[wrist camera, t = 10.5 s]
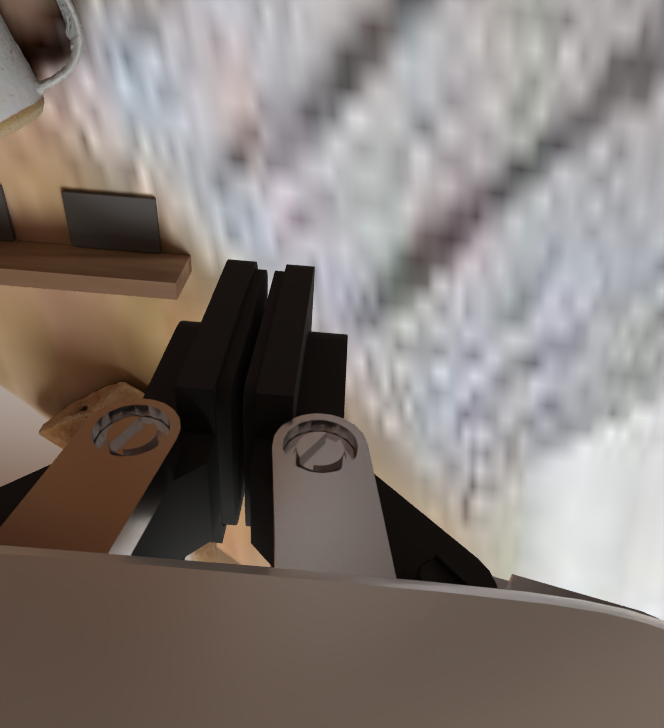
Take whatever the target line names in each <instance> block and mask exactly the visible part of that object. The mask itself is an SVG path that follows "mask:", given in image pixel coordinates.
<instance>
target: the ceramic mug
mask: <svg viewBox="0 0 664 728" xmlns="http://www.w3.org/2000/svg"><path fill="white" fill-rule="evenodd" d="M56 1H57V3H58V5H59V7H60V10H61V12H62V15H63V17H64V20H65V24H66V32H65V34H66V35H67V37H68V39H69V40H70V46H71V52H72V53H71V55H70V58H69V59H68V61H67V63H66V65H65V66H64V67H62V69H61V70H60V71H59V72H57V73H56V74H54V75H53V76H52V77H50V78H47V79H44V80H42V81H40V80H37V79H36V77H35V75H34V73H33V71H32V69H31V67H30V65H29V63H28V62H27V60H26V59H25V57H24V56H23V54H22V52H21V50H20V48H19V46H18V44H17V43H16V42H15V40H14V38H13V37H12V35H11V33H10V31H9V29H8V27H7V25H6V23H5V21H4V20H3V18H2V16H1V14H0V138H2V137H4V136H7V135H9V134H11V133H12V132H14V131H16V130H18V129H20V128H21V127H23V126H25V125H27V124H28V123H30V122H32V121H33V120H35V119H36V118H37V117H39V116H40V114H41V113H42V111H43V106H44V98H43V92H44V90H45V89H47V88H50V87H53V86H54V85H56V84H58V83H60V82H61V81H62V80H64V79H65V78H66V77H67V76H68V75H69V74H70V73H71V72H72V71H73V70H74V69H75V67H76V66H77V64H78V62H79V60H80V57H81V52H82V46H83V34H82V27H81V23H80V20H79V17H78V15H77V12H76V10H75V8H74V6H73V4H72V2H71V0H56Z"/></svg>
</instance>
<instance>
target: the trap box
mask: <svg viewBox="0 0 664 728" xmlns="http://www.w3.org/2000/svg"><path fill="white" fill-rule="evenodd" d="M62 197H63V202H64V207H65V212H66V217H67V222H68V227H69V231H70V236H71V241H72V245H63V244H51V243H40V242H28V241H16V237H15V233H14V229H13V226H12V222H11V218H10V214H9V210H8V207H7V203H6V199H5V195H4V191H3V188H2V185H0V285H9V286H21V287H33V288H45V289H57V290H69V291H80V292H92V293H104V294H116V295H128V296H139V297H151V298H163V299H175V300H177V299H178V297H179V295H180V293H181V291H182V289H183V287H184V285H185V283H186V281H187V279H188V277H189V275H190V273H191V271H192V268H191V255H181V254H169V253H161V244H160V234H159V225H158V216H157V207H156V198H150V197H138V196H126V195H115V194H103V193H91V192H79V191H68V190H63V191H62Z"/></svg>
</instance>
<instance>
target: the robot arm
mask: <svg viewBox="0 0 664 728" xmlns="http://www.w3.org/2000/svg"><path fill="white" fill-rule="evenodd" d="M314 274H315V267H312V266H300V265H288V264H287V265H286V269H285V272H284V271H275V273H274V277H273V280H272V284H271V288H270V292H269V295H268V274H267V270H260V269H258V266H257V262H253V261H241V260H229V259H228V260H227V262H226V264H225V267H224V269H223V272H222V274H221V276H220V279H219V281H218V283H217V286H216V288H215V291H214V293H213V295H212V298H211V300H210V303H209V305H208V307H207V310H206V312H205V314H204V317H203V319H202V322H192V321H180V322H179V324H178V325H177V327H176V329H175V331H174V334H173V336H172V338H171V340H170V342H169V344H168V346H167V348H166V350H165V352H164V355H163V357H162V359H161V361H160V363H159V365H158V367H157V369H156V371H155V373H154V375H153V378H152V380H151V382H150V384H149V386H148V388H147V390H146V392H145V394H144V396H143V399H141V398H137V399H128V400H122V401H119V402H116V403H112V404H109V405H107V406H105V407H104V408H102V409H100V410H98V411H96V412H95V413H94V414H93V415H92V416H91V417H90V418H89V419H88V420H87V421H86V422H85V423H84V424H83V426H82V427H81V428H80V429H79V431H78V432H77V433H76V434H75V435H74V437H73V438H72V439H71V440H70V442H69V443H68V444H67V445H66V447H65V448H64V449H63V450H62V452H61V453H60V454H59V455H58V456H57V458H56V459H55V460H54V462H53V463H52V464H51V465H49V466H46V467H44V468H42V469H40V470H38V471H35V472H33V473H31V474H28V475H26V476H24V477H22V478H20V479H17V480H15V481H13V482H11V483H9V484H6V485H4V486H2V487H0V728H664V621H663V620H660V619H658V618H656V617H654V616H651V615H649V614H647V613H645V612H642V611H639V610H635V609H632V608H628V607H625V606H621V605H618V604H614V603H611V602H607V601H604V600H600V599H597V598H593V597H590V596H587V595H583V594H580V593H576V592H573V591H569V590H566V589H562V588H559V587H555V586H552V585H548V584H545V583H541V582H538V581H534V580H531V579H527V578H524V577H520V576H517V575H513V574H512V575H511V578H510V580H509V581H507V580H504V579H500V578H497V577H493V576H492V575H491V573H490V571H489V570H488V569H487V568H486V567H485V566H484V565H483V564H482V562H481V561H480V560H479V559H478V558H477V557H475V556H474V555H473V554H472V553H470V552H469V551H468V550H467V549H465V548H464V547H463V546H462V545H461V544H459V543H458V542H457V541H456V540H454V539H453V538H452V537H451V536H450V535H448V534H447V533H446V532H445V531H443V530H442V529H441V528H440V527H439V526H437V525H436V524H435V523H434V522H432V521H431V520H430V519H429V518H428V517H426V516H425V515H424V514H423V513H421V512H420V511H419V510H418V509H417V508H415V507H414V506H413V505H412V504H410V503H409V502H408V501H407V500H406V499H404V498H403V497H402V496H401V495H399V494H398V493H397V492H396V491H395V490H393V489H392V488H391V487H390V486H388V485H387V484H386V483H385V482H384V481H382V480H381V479H380V478H379V477H377V476H376V475H375V474H374V471H373V466H372V461H371V456H370V452H369V447H368V443H367V441H366V439H365V436H364V434H363V433H362V432H361V431H360V430H359V429H358V428H357V427H356V426H355V425H354V424H352V423H351V422H349V421H347V420H345V419H344V404H345V383H346V362H347V341H348V335H346V334H334V333H322V332H311V326H312V309H313V292H314ZM244 492H245V522H246V526H251V544H252V545H253V546H254V547H255V548H256V549H257V550H258V551H259V553H260V554H261V555H262V556H263V557H264V558H265V559H266V560H267V561H268V562H269V563H270V565H271V566H270V567H261V566H249V565H237V564H224V563H213V562H201V561H195V554H194V551H196V550H198V549H199V548H201V547H202V546H204V545H206V544H207V543H209V542H214V543H222V542H223V538H224V534H225V529H226V525H237V523H238V520H239V515H240V511H241V506H242V502H243V497H244Z"/></svg>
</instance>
